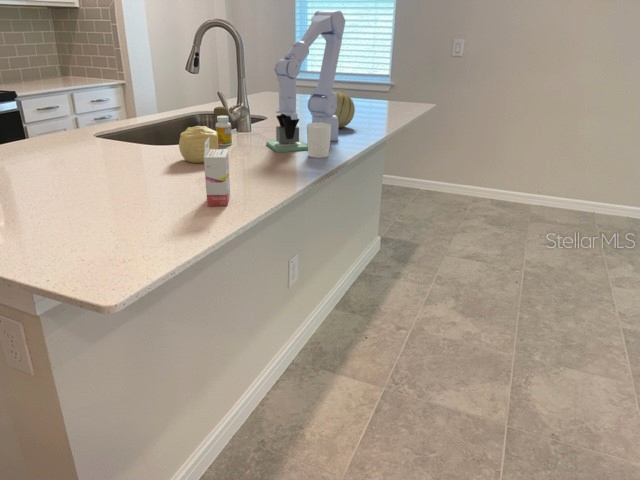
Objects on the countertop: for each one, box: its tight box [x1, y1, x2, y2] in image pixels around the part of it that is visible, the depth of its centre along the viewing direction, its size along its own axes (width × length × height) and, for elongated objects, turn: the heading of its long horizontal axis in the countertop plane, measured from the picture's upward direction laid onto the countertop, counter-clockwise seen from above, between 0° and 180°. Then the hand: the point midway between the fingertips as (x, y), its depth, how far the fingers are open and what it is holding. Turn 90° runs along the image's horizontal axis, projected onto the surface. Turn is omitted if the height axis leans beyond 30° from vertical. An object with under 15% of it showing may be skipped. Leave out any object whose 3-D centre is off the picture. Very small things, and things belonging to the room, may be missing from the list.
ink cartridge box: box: [203, 137, 231, 207], centre depth 117 cm, size 9×5×15 cm, turn 5°
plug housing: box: [275, 125, 300, 143], centre depth 171 cm, size 7×4×5 cm, turn 112°
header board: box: [266, 139, 308, 153], centre depth 172 cm, size 12×12×4 cm
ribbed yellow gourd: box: [324, 89, 356, 129], centre depth 205 cm, size 15×15×15 cm
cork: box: [213, 106, 229, 131], centre depth 185 cm, size 6×6×11 cm
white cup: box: [306, 122, 331, 159], centre depth 161 cm, size 8×8×10 cm
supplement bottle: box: [214, 115, 233, 147], centre depth 173 cm, size 5×5×10 cm
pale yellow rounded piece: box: [178, 125, 219, 164], centre depth 152 cm, size 11×12×11 cm
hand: (287, 137), depth 172 cm, fingers closed on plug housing, 4 cm apart
